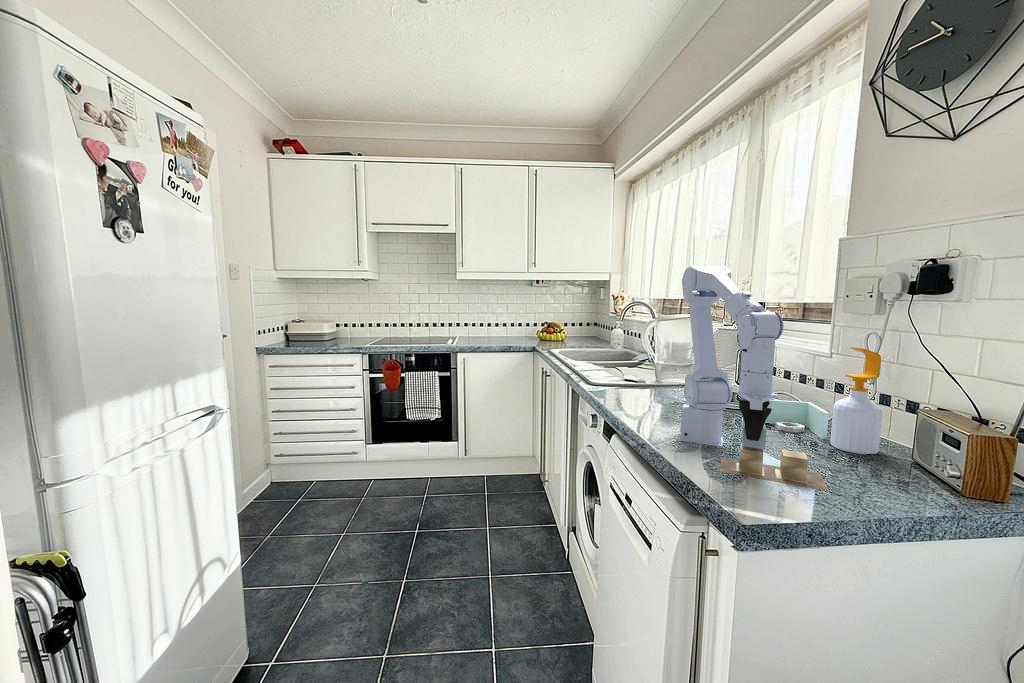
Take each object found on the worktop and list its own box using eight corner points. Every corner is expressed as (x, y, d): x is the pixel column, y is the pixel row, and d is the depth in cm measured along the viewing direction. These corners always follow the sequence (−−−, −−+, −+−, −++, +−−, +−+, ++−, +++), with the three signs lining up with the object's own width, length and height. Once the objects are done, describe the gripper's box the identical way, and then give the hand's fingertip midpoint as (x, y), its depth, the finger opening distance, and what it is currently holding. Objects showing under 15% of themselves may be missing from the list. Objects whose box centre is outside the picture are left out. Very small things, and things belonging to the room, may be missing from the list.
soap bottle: (821, 442, 106) (829, 345, 104) (858, 442, 106) (867, 345, 104) (848, 455, 98) (857, 349, 95) (889, 455, 97) (899, 349, 95)
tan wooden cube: (781, 477, 83) (783, 455, 83) (780, 470, 86) (781, 449, 86) (806, 482, 81) (808, 459, 81) (803, 474, 85) (805, 452, 84)
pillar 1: (739, 470, 86) (740, 449, 86) (739, 464, 90) (740, 443, 89) (761, 474, 85) (763, 452, 84) (760, 467, 88) (762, 446, 88)
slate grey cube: (742, 446, 86) (743, 426, 85) (741, 440, 89) (743, 421, 89) (765, 449, 84) (766, 429, 84) (763, 443, 87) (765, 424, 87)
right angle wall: (761, 424, 124) (762, 399, 123) (808, 428, 120) (810, 402, 120) (773, 436, 112) (775, 408, 112) (826, 441, 109) (828, 412, 108)
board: (719, 474, 86) (719, 471, 86) (721, 459, 94) (721, 457, 94) (828, 493, 77) (828, 490, 77) (820, 476, 85) (820, 473, 85)
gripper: (783, 378, 77) (778, 450, 78) (776, 367, 90) (772, 430, 91) (739, 375, 80) (735, 444, 82) (739, 365, 93) (735, 425, 94)
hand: (752, 436), depth 87 cm, fingers closed on slate grey cube, 4 cm apart
